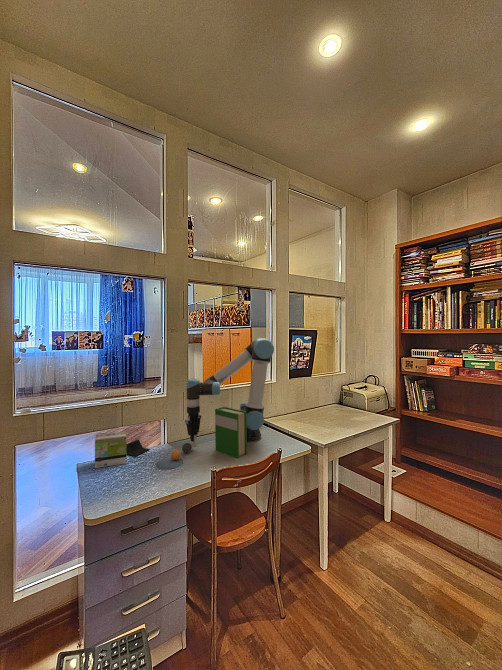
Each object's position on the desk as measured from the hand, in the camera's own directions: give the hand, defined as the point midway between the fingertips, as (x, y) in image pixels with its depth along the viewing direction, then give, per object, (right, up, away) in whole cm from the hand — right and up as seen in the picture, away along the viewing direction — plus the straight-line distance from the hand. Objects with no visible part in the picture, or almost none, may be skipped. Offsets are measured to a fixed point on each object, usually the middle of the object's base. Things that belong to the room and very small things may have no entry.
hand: (193, 446), depth 179 cm
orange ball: (-7, +1, -14) cm, 16 cm away
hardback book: (+22, -2, -5) cm, 23 cm away
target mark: (-9, -2, -19) cm, 21 cm away
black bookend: (-32, -3, -3) cm, 32 cm away
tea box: (-40, -3, -17) cm, 44 cm away
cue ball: (-3, +1, -5) cm, 6 cm away
